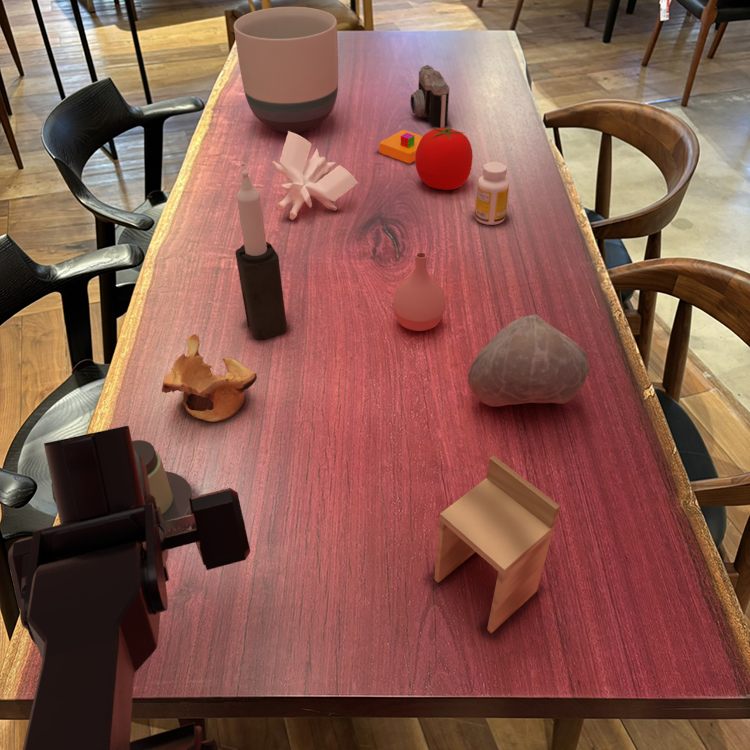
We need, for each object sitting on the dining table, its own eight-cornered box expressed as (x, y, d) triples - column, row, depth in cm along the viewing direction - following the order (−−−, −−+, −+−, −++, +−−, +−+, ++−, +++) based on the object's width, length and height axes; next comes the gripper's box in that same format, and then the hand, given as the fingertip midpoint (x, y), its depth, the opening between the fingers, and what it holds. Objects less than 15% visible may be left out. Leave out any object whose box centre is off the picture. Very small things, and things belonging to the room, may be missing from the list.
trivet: (162, 558, 77) (158, 547, 76) (97, 528, 80) (92, 518, 79) (211, 497, 83) (208, 486, 82) (148, 471, 86) (144, 460, 84)
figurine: (311, 250, 134) (348, 195, 139) (328, 227, 123) (367, 169, 128) (243, 202, 131) (284, 148, 136) (254, 174, 121) (298, 116, 125)
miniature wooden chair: (491, 633, 70) (508, 550, 61) (434, 579, 75) (441, 493, 65) (537, 591, 74) (560, 505, 64) (479, 541, 78) (493, 454, 68)
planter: (234, 142, 151) (217, 35, 136) (266, 104, 166) (254, 4, 151) (327, 151, 148) (320, 42, 133) (351, 111, 162) (347, 9, 147)
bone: (166, 431, 91) (152, 384, 85) (173, 379, 98) (160, 331, 92) (262, 423, 92) (253, 375, 86) (262, 371, 99) (254, 324, 93)
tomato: (455, 203, 132) (459, 148, 124) (405, 189, 136) (406, 134, 128) (480, 179, 138) (485, 125, 131) (431, 167, 142) (434, 113, 135)
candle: (245, 321, 107) (219, 165, 90) (277, 312, 108) (257, 157, 91) (256, 341, 103) (230, 183, 86) (289, 332, 105) (270, 174, 88)
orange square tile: (379, 152, 147) (378, 132, 144) (403, 139, 151) (403, 119, 148) (409, 164, 143) (410, 143, 140) (433, 150, 148) (434, 130, 145)
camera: (403, 104, 165) (404, 59, 158) (431, 101, 166) (433, 56, 159) (419, 131, 154) (421, 84, 147) (449, 128, 155) (452, 81, 148)
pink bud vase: (441, 343, 103) (446, 273, 95) (388, 337, 104) (389, 268, 96) (446, 310, 108) (451, 242, 100) (396, 305, 109) (397, 237, 101)
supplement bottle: (504, 210, 130) (510, 160, 123) (505, 226, 126) (512, 175, 119) (474, 209, 130) (479, 158, 123) (474, 225, 126) (479, 173, 119)
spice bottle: (180, 503, 80) (165, 457, 74) (141, 526, 78) (122, 480, 72) (160, 477, 83) (144, 430, 77) (121, 499, 80) (102, 452, 75)
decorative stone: (567, 373, 98) (588, 284, 87) (592, 429, 90) (618, 338, 80) (458, 383, 97) (467, 293, 86) (475, 440, 89) (486, 349, 79)
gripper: (223, 432, 56) (224, 430, 71) (-36, 491, 52) (24, 476, 67) (255, 573, 55) (248, 541, 71) (-3, 644, 51) (49, 593, 67)
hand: (145, 534), depth 69 cm, fingers open, 9 cm apart
